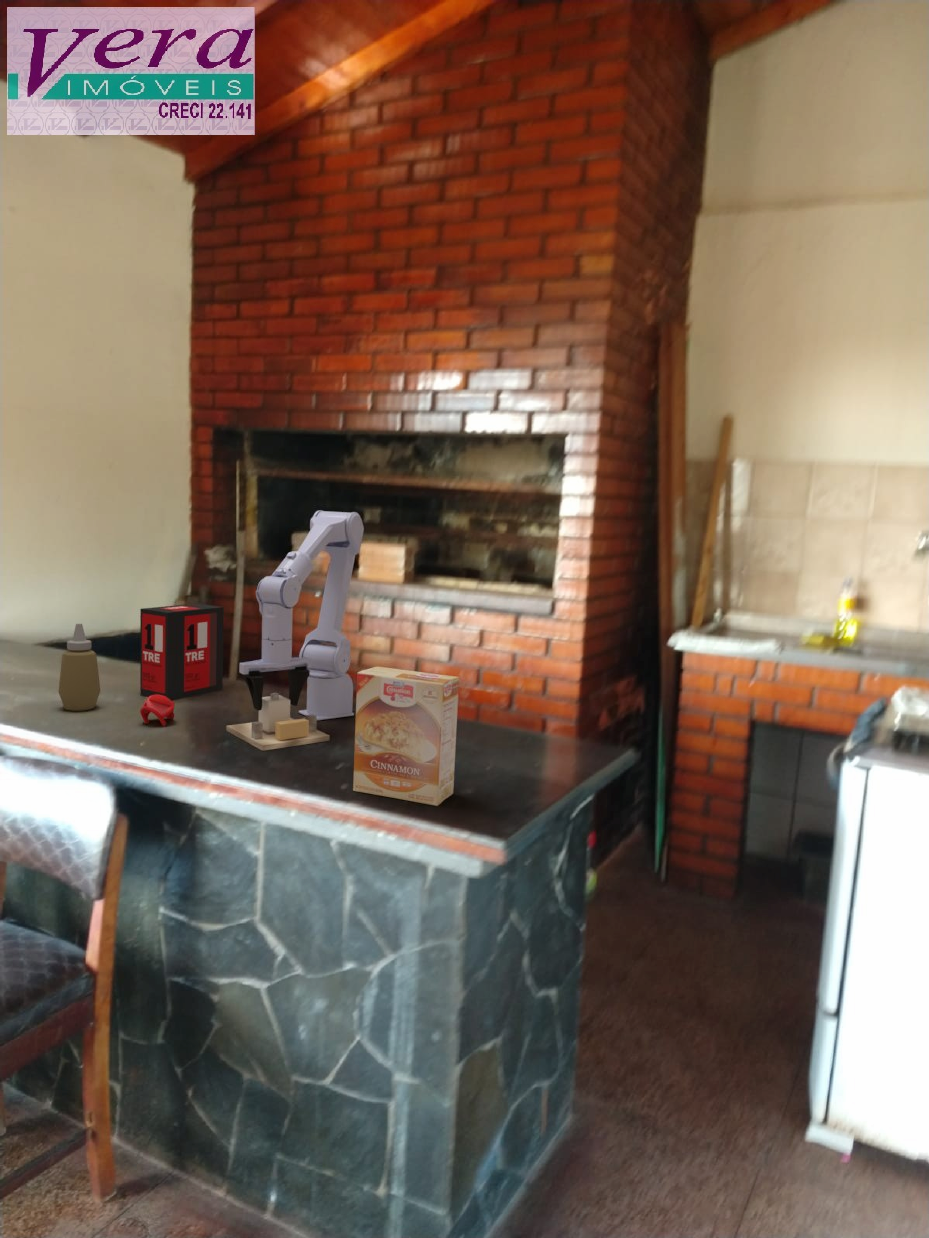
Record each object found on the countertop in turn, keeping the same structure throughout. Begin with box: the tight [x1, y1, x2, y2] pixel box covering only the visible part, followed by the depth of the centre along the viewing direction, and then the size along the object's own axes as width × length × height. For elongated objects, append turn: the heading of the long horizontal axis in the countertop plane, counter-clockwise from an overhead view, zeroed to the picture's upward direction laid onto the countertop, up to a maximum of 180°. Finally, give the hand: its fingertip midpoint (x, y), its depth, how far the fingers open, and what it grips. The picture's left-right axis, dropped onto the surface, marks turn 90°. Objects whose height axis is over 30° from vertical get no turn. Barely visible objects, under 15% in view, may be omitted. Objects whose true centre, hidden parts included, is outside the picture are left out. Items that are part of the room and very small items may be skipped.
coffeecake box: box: [352, 666, 460, 807], centre depth 136 cm, size 15×7×20 cm, turn 69°
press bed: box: [225, 714, 330, 752], centre depth 166 cm, size 14×16×4 cm
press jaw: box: [275, 718, 309, 740], centre depth 161 cm, size 6×2×3 cm, turn 129°
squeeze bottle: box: [58, 623, 101, 712], centre depth 179 cm, size 8×8×18 cm
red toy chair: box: [139, 695, 175, 727], centre depth 171 cm, size 8×6×6 cm
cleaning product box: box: [139, 603, 225, 702], centre depth 197 cm, size 16×9×20 cm, turn 150°
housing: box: [258, 692, 291, 733], centre depth 167 cm, size 4×4×7 cm
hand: (275, 706), depth 166 cm, fingers open, 7 cm apart
